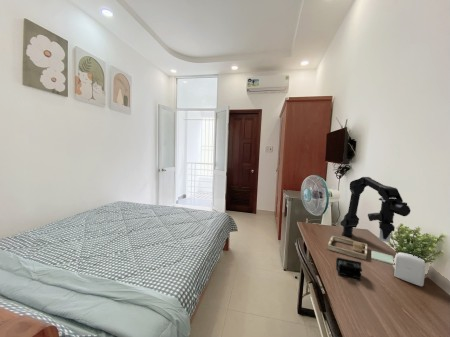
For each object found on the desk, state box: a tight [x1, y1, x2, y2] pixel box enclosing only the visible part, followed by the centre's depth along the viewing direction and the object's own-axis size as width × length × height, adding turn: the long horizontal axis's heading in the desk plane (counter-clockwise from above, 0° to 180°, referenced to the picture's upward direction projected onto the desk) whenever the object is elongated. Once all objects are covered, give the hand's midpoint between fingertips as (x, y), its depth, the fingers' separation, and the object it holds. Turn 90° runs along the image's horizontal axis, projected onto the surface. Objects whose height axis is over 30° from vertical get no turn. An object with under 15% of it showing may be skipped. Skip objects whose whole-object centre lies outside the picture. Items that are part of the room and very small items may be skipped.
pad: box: [370, 250, 395, 265], centre depth 115 cm, size 10×10×1 cm
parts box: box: [378, 228, 391, 243], centre depth 114 cm, size 4×4×6 cm
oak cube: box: [352, 241, 363, 253], centre depth 123 cm, size 4×4×4 cm
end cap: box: [335, 257, 363, 281], centre depth 99 cm, size 10×7×7 cm
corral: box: [326, 235, 368, 261], centre depth 125 cm, size 18×20×2 cm
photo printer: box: [393, 252, 426, 287], centre depth 95 cm, size 10×4×12 cm, turn 39°
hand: (384, 237), depth 114 cm, fingers closed on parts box, 4 cm apart
